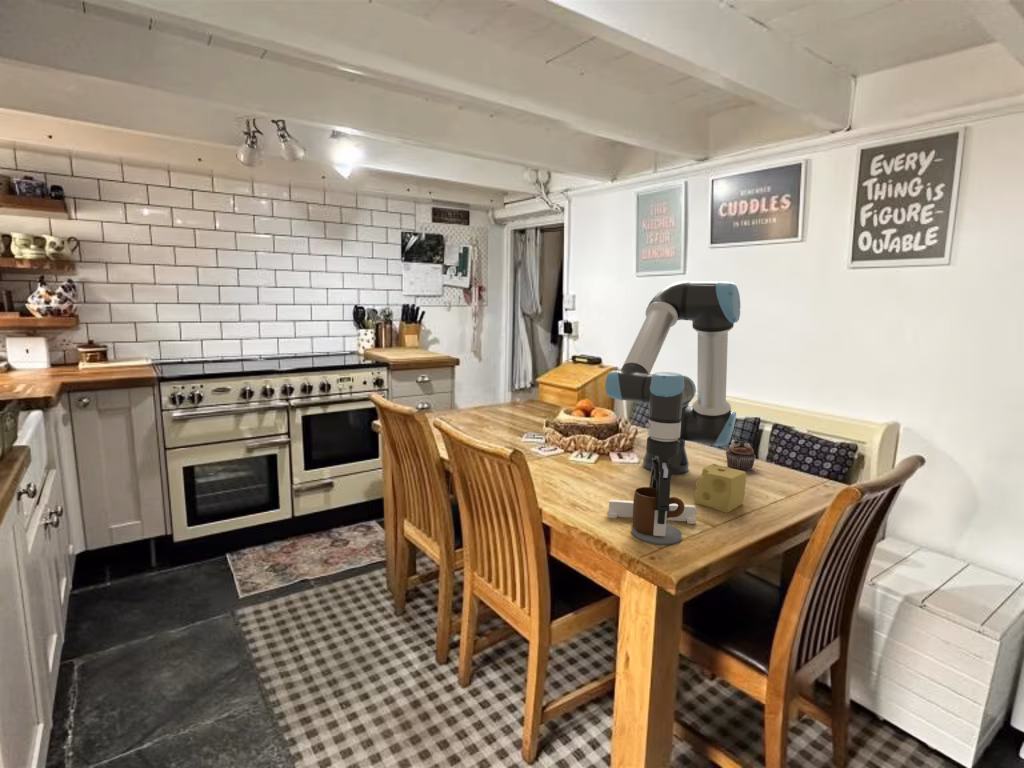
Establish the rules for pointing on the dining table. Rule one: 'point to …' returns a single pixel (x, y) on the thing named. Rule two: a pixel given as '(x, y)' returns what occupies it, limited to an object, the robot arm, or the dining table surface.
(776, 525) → the dining table surface
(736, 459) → the cupcake
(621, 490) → the dining table surface
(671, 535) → the disc
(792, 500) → the dining table surface
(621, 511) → the rail
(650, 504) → the mug
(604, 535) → the dining table surface
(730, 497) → the cheese
